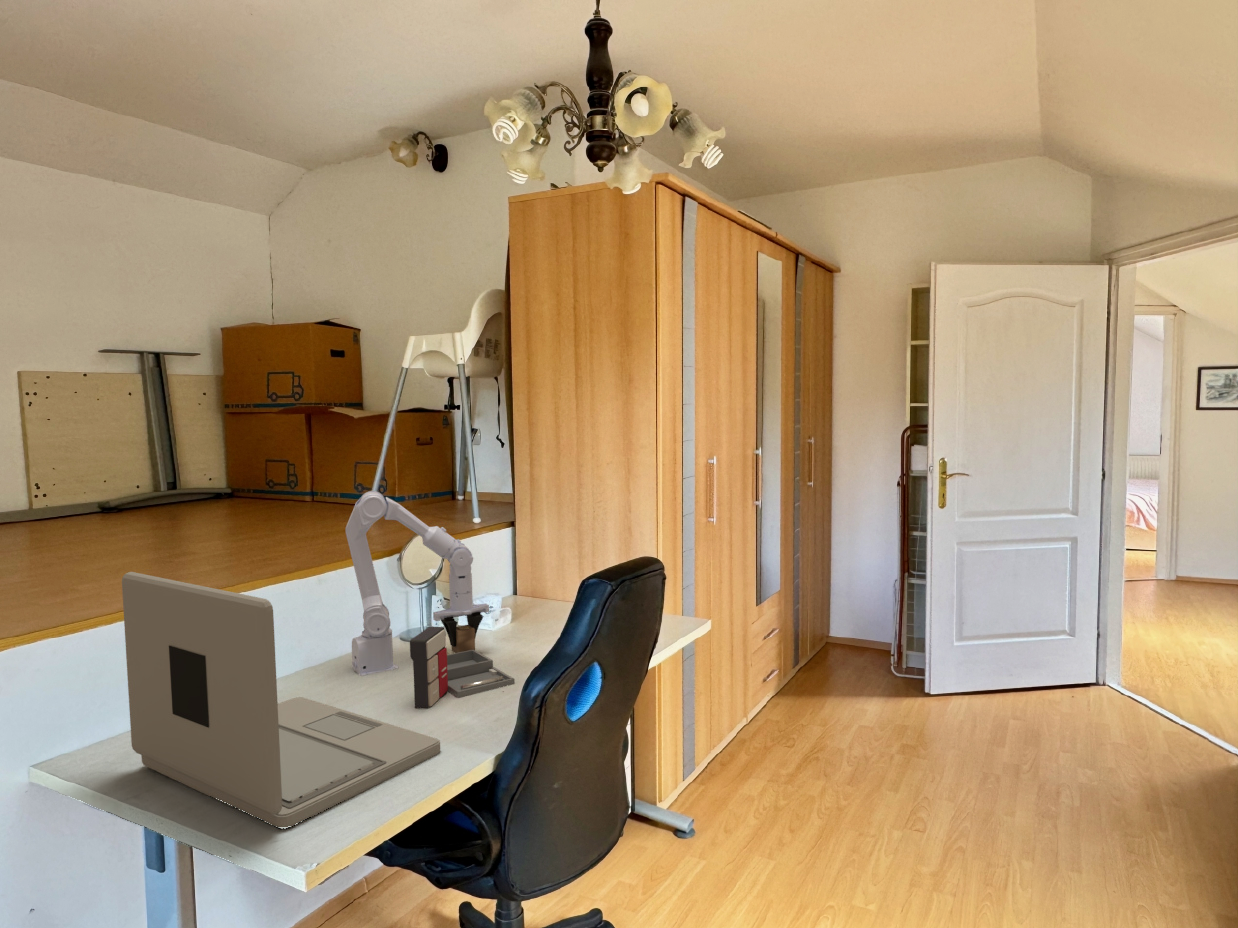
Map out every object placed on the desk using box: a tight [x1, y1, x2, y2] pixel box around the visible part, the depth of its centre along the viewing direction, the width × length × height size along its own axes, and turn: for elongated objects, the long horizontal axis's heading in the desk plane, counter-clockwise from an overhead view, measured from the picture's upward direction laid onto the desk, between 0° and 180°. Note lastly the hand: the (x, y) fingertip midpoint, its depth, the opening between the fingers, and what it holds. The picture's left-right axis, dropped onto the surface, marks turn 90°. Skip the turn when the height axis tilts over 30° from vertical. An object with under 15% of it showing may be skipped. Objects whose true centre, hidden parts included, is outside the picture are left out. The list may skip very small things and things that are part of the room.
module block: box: [451, 624, 476, 653], centre depth 202 cm, size 4×4×6 cm
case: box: [447, 649, 494, 681], centre depth 191 cm, size 14×11×3 cm
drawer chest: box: [409, 626, 448, 710], centre depth 173 cm, size 11×4×15 cm, turn 171°
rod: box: [460, 676, 503, 690], centre depth 180 cm, size 10×1×1 cm
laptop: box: [121, 571, 441, 827], centre depth 143 cm, size 44×34×36 cm
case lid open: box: [447, 666, 516, 699], centre depth 182 cm, size 14×11×2 cm
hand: (462, 643), depth 203 cm, fingers closed on module block, 4 cm apart
